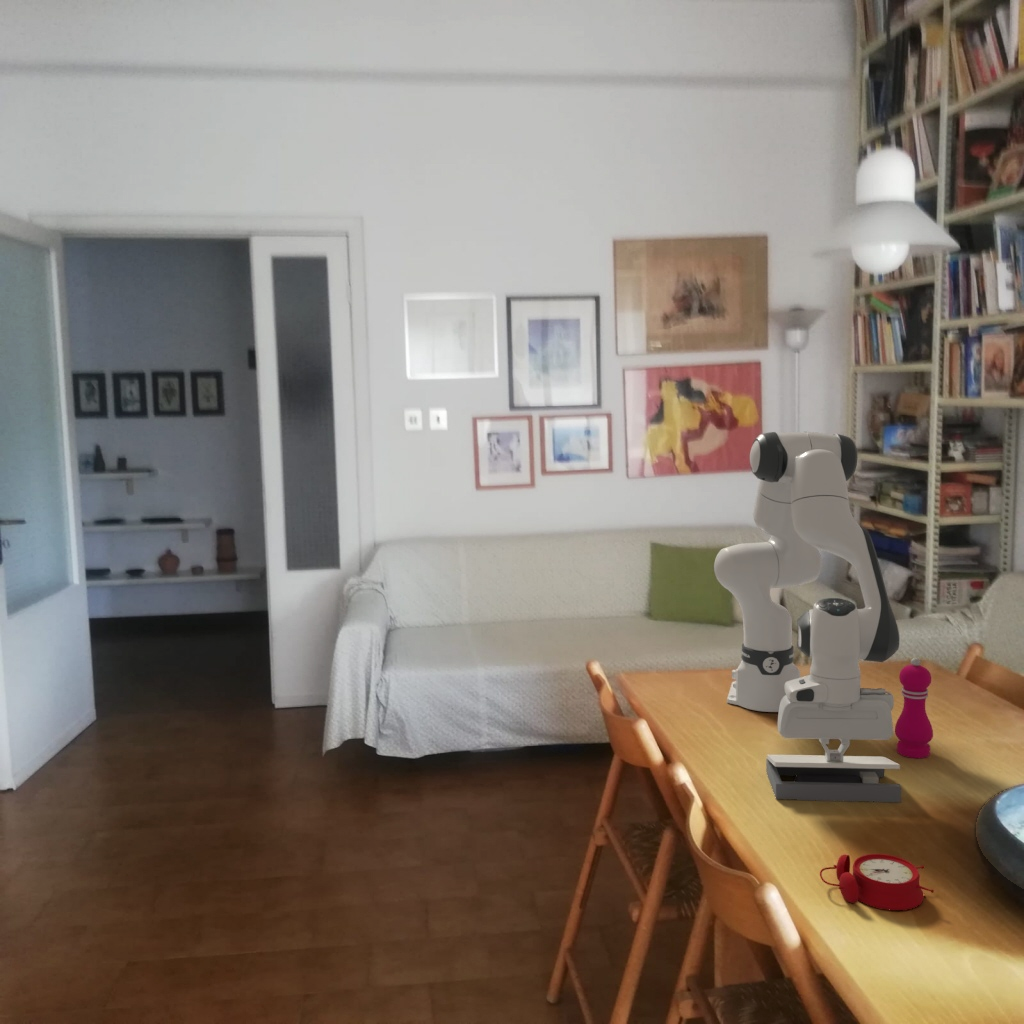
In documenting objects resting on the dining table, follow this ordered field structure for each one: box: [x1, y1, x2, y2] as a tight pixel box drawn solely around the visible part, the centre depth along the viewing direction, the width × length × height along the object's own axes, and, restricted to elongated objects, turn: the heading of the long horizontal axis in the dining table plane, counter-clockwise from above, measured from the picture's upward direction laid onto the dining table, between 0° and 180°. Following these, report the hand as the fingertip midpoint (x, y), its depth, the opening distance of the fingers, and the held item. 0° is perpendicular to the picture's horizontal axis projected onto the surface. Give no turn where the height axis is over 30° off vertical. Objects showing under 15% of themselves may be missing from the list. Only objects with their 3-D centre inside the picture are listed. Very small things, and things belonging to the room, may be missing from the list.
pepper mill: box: [894, 657, 934, 759], centre depth 193 cm, size 7×7×20 cm
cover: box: [766, 754, 901, 770], centre depth 179 cm, size 11×22×1 cm, turn 83°
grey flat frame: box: [765, 757, 902, 803], centre depth 179 cm, size 12×22×3 cm, turn 83°
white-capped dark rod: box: [794, 772, 880, 784], centre depth 179 cm, size 15×3×3 cm, turn 84°
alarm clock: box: [819, 853, 935, 911], centre depth 142 cm, size 10×6×15 cm
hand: (834, 760), depth 176 cm, fingers closed, pressing on cover
